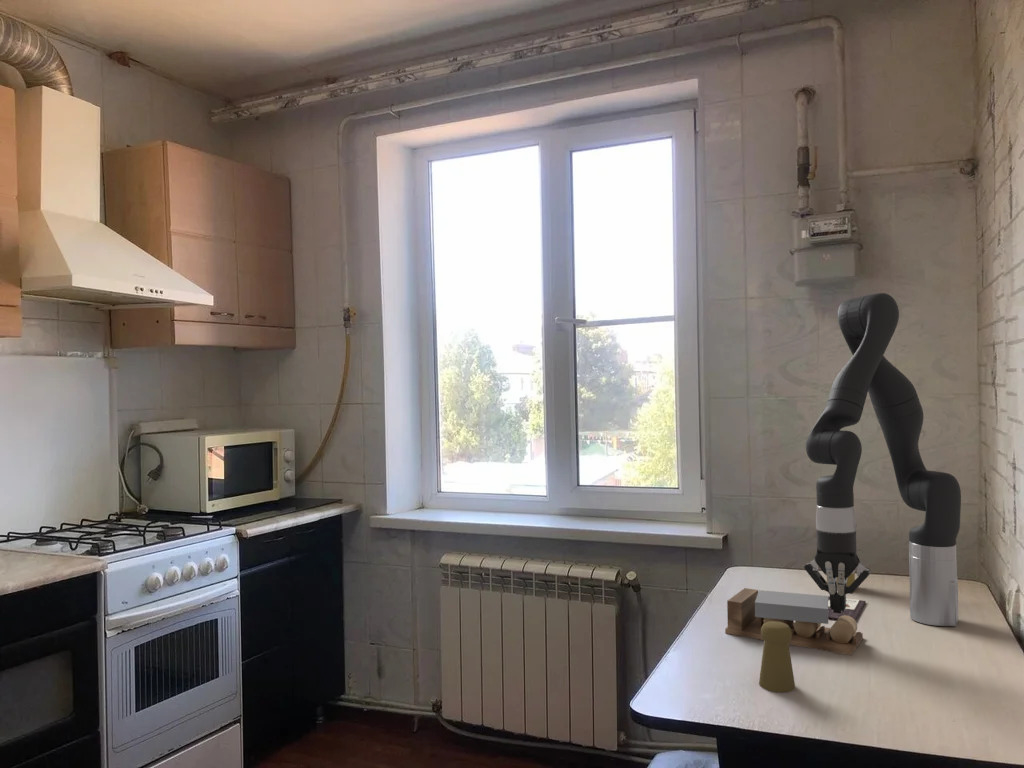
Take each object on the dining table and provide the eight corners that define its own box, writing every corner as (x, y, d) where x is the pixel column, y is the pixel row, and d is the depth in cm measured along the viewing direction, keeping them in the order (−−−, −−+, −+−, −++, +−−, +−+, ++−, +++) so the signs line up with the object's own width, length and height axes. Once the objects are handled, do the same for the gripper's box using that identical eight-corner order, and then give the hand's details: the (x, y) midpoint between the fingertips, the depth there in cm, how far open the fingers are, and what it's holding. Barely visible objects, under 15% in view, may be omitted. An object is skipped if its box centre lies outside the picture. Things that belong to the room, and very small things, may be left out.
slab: (828, 610, 161) (828, 595, 161) (828, 624, 152) (828, 609, 152) (759, 603, 167) (759, 590, 167) (755, 616, 158) (754, 602, 158)
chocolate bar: (811, 614, 173) (825, 596, 188) (811, 619, 173) (825, 599, 188) (854, 620, 168) (865, 600, 184) (854, 624, 168) (865, 604, 184)
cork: (766, 676, 138) (765, 615, 138) (800, 684, 135) (799, 622, 135) (753, 686, 134) (752, 624, 134) (788, 695, 130) (787, 630, 130)
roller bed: (864, 638, 158) (863, 604, 158) (853, 655, 148) (852, 619, 148) (743, 618, 173) (742, 587, 173) (725, 633, 163) (725, 600, 163)
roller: (789, 626, 164) (792, 608, 164) (781, 635, 159) (784, 616, 158) (771, 621, 166) (773, 603, 166) (762, 629, 161) (764, 610, 161)
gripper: (797, 528, 157) (800, 612, 157) (867, 533, 149) (870, 622, 149) (806, 522, 163) (808, 603, 163) (874, 527, 155) (876, 612, 155)
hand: (838, 612), depth 156 cm, fingers closed
